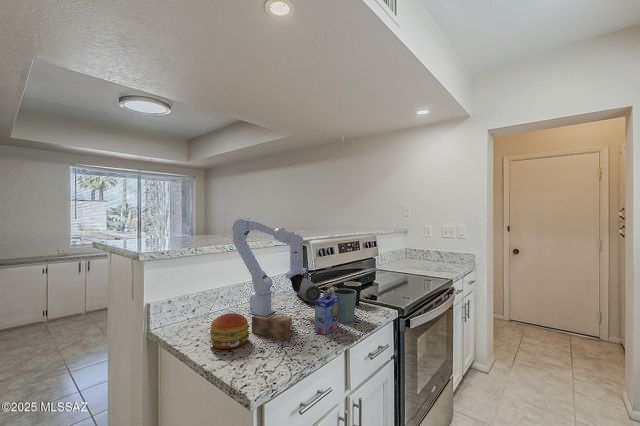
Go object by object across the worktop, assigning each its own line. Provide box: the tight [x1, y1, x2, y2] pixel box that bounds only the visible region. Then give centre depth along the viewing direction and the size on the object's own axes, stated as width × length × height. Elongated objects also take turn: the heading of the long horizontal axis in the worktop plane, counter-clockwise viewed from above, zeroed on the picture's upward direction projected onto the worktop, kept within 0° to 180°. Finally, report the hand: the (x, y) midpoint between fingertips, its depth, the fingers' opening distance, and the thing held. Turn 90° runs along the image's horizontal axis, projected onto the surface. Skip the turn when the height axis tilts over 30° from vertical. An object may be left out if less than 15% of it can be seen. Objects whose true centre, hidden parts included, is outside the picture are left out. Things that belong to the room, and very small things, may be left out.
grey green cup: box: [332, 287, 357, 324], centre depth 125 cm, size 10×10×12 cm
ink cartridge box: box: [314, 292, 339, 336], centre depth 114 cm, size 10×6×14 cm, turn 149°
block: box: [267, 313, 293, 331], centre depth 113 cm, size 8×7×5 cm
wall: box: [251, 314, 291, 342], centre depth 109 cm, size 16×2×6 cm, turn 62°
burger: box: [208, 312, 250, 350], centre depth 103 cm, size 13×14×10 cm
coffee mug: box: [336, 281, 362, 307], centre depth 146 cm, size 12×9×10 cm
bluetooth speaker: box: [291, 277, 322, 303], centre depth 154 cm, size 23×9×10 cm, turn 23°
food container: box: [322, 285, 339, 297], centre depth 135 cm, size 12×6×10 cm, turn 168°
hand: (296, 291), depth 132 cm, fingers closed
